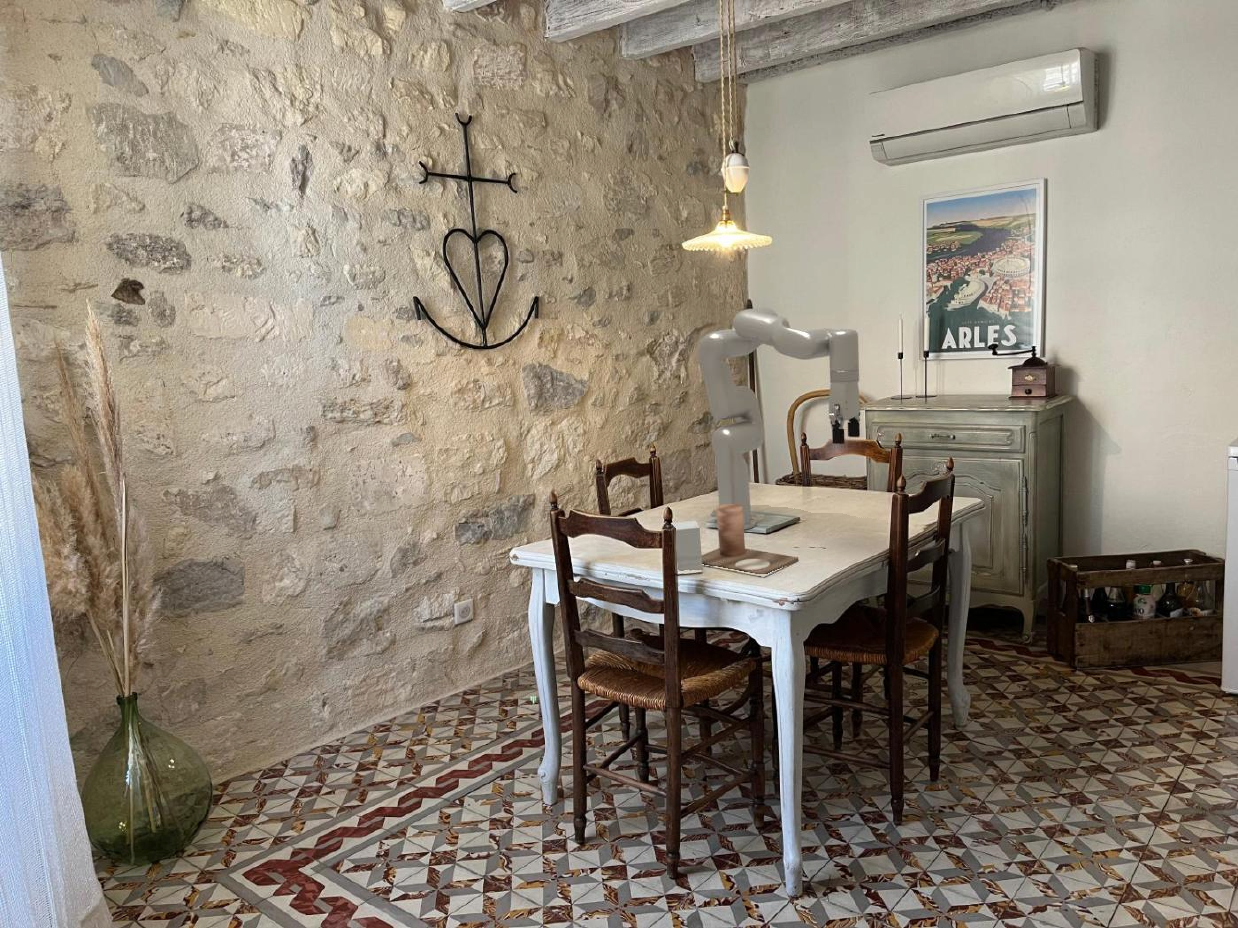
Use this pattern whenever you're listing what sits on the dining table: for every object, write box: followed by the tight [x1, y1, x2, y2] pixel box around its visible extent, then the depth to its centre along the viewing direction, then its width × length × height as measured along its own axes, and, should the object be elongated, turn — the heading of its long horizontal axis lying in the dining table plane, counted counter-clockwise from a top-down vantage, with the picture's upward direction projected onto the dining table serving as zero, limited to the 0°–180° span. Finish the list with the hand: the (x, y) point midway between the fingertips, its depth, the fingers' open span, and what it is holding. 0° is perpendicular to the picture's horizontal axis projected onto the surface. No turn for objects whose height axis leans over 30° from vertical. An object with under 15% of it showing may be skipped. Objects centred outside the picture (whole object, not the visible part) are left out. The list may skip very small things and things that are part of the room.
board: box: [701, 504, 799, 574], centre depth 252 cm, size 24×16×14 cm, turn 47°
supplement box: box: [672, 520, 704, 571], centre depth 249 cm, size 7×7×13 cm
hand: (846, 440), depth 252 cm, fingers open, 9 cm apart
